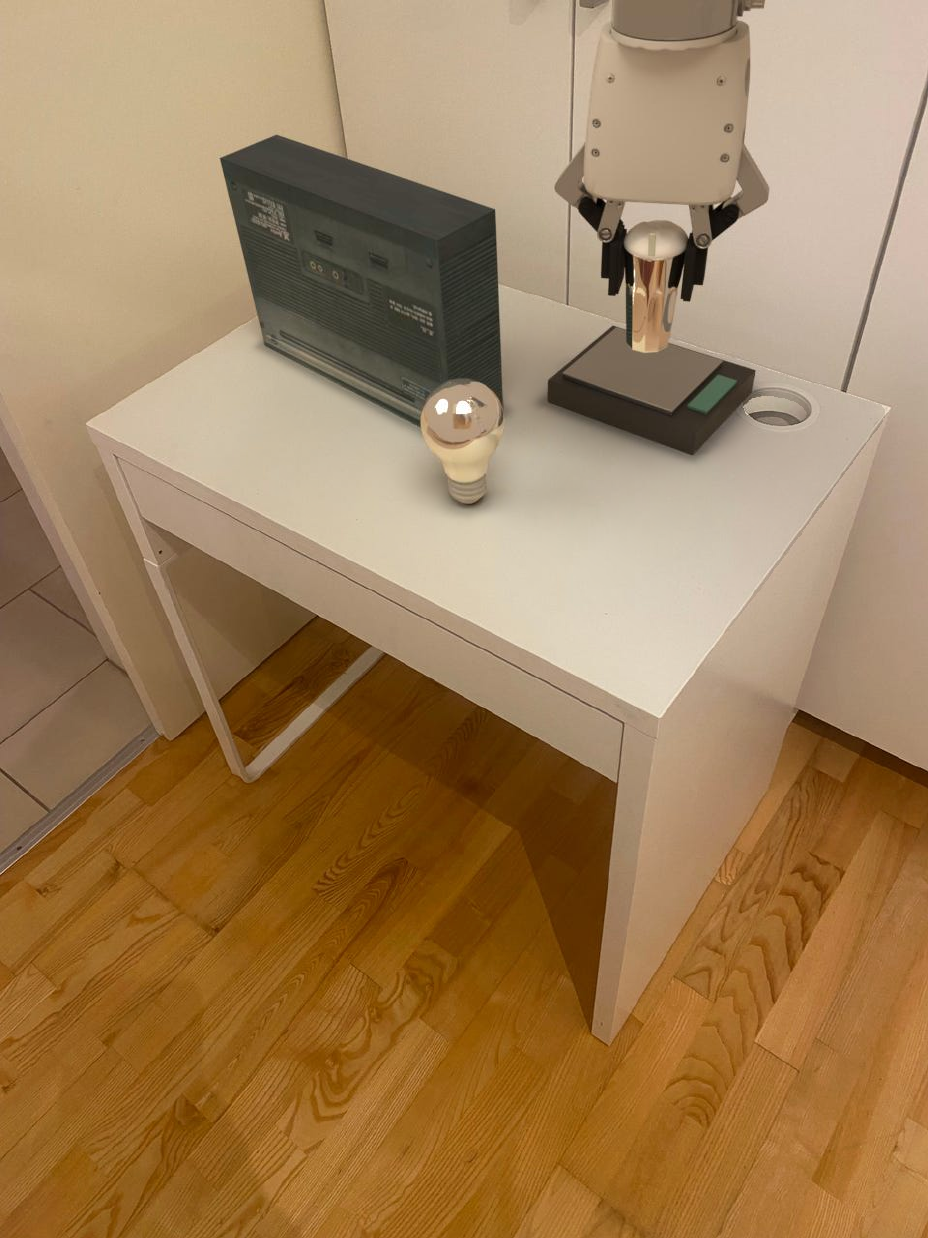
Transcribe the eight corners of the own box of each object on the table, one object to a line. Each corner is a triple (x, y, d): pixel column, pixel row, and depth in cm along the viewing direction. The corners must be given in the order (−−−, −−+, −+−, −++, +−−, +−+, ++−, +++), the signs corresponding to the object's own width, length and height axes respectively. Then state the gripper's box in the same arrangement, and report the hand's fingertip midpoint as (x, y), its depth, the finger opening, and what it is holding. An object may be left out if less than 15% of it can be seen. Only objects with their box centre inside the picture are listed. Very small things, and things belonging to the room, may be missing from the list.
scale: (752, 392, 94) (757, 364, 91) (692, 455, 87) (696, 427, 85) (611, 346, 101) (613, 319, 99) (547, 401, 95) (547, 374, 92)
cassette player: (503, 411, 94) (495, 209, 80) (454, 444, 91) (436, 240, 76) (312, 319, 109) (276, 134, 94) (264, 345, 106) (219, 157, 91)
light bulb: (457, 537, 82) (446, 420, 73) (415, 496, 86) (400, 380, 77) (523, 504, 84) (520, 387, 75) (479, 466, 88) (471, 351, 80)
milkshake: (611, 361, 72) (618, 231, 65) (623, 324, 76) (630, 198, 69) (671, 366, 71) (685, 235, 64) (680, 329, 75) (695, 201, 68)
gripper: (824, -14, 58) (773, 273, 71) (549, -14, 61) (549, 258, 75) (821, 25, 53) (766, 325, 66) (522, 22, 57) (527, 306, 70)
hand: (651, 287), depth 70 cm, fingers closed on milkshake, 4 cm apart
